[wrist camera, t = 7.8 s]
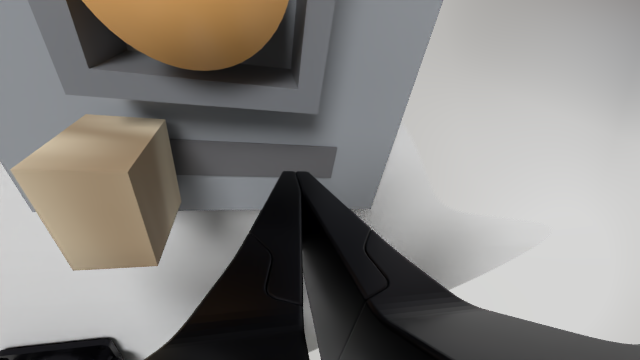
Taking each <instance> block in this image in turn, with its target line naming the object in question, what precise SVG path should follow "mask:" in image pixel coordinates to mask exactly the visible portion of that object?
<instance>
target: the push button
mask: <svg viewBox="0 0 640 360" xmlns="http://www.w3.org/2000/svg"><path fill="white" fill-rule="evenodd" d="M82 1H83V2H84V4H85V5H86V6H87V7H88V8H89V9H90V10H91V12H92V13H93V14H94V15H95V16H96V17H97V18H98V19H99V20H100V21H101V22H102V23H103V24H104V25H105V26H106V27H107V28H108V29H109V30H111V31H112V32H113V33H114V34H116V35H117V36H118V37H119V38H121V39H122V40H123V41H124V42H126V43H127V44H129V45H130V46H132V47H133V48H135V49H136V50H138V51H140V52H142V53H143V54H145V55H147V56H149V57H151V58H153V59H155V60H158V61H160V62H163V63H165V64H168V65H171V66H175V67H178V68H183V69H189V70H198V71H210V70H220V69H224V68H228V67H232V66H234V65H237V64H239V63H242V62H243V61H245V60H247V59H249V58H250V57H252V56H253V55H254V54H256V53H257V52H258V51H259V50H261V49H262V48H263V46H264V45H265V44H266V43H267V42H268V41H269V40H270V39H271V37H272V36H273V34H274V33H275V31H276V30H277V28H278V26H279V24H280V22H281V20H282V18H283V16H284V13H285V10H286V8H287V5H288V1H289V0H82Z"/></svg>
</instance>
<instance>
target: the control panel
mask: <svg viewBox="0 0 640 360" xmlns="http://www.w3.org/2000/svg"><path fill="white" fill-rule="evenodd" d="M442 2H443V0H289V1H288V5H287V8H286V10H285V13H284V16H283V18H282V20H281V22H280V24H279V26H278V28H277V30H276V31H275V33H274V34H273V36H272V37H271V39H270V40H269V41H268V42H267V43H266V44H265V45H264V46H263V48H262V49H261V50H259V51H258V52H257V53H256V54H254V55H253V56H252V57H250V58H249V59H247V60H245V61H243V62H242V63H239V64H237V65H234V66H232V67H228V68H224V69H220V70H210V71H198V70H189V69H183V68H178V67H175V66H171V65H168V64H165V63H163V62H160V61H158V60H155V59H153V58H151V57H149V56H147V55H145V54H143V53H142V52H140V51H138V50H136V49H135V48H133V47H132V46H130V45H129V44H127V43H126V42H124V41H123V40H122V39H121V38H119V37H118V36H117V35H116V34H114V33H113V32H112V31H111V30H109V29H108V28H107V27H106V26H105V25H104V24H103V23H102V22H101V21H100V20H99V19H98V18H97V17H96V16H95V15H94V14H93V13H92V12H91V10H90V9H89V8H88V7H87V6H86V5H85V4H84V2H83V1H82V0H0V162H1V163H2V165H3V166H4V168H5V170H6V171H7V173H8V174H9V176H10V177H11V179H12V181H13V182H14V184H15V185H16V187H17V188H18V190H19V192H20V193H21V195H22V196H23V198H24V199H25V201H26V203H27V204H28V206H29V207H30V209H31V210H32V212H36V211H35V209H34V207H33V206H32V204H31V203H30V201H29V199H28V198H27V196H26V195H25V193H24V191H23V190H22V188H21V187H20V185H19V183H18V182H17V180H16V179H15V177H14V175H13V174H12V172H11V171H10V169H11V168H13V167H14V166H16V165H17V164H18V163H20V162H21V161H22V160H24V159H25V158H27V157H28V156H29V155H31V154H32V153H33V152H35V151H36V150H37V149H39V148H40V147H42V146H43V145H44V144H46V143H47V142H48V141H50V140H51V139H53V138H54V137H55V136H57V135H58V134H59V133H61V132H62V131H64V130H65V129H66V128H68V127H69V126H70V125H72V124H73V123H74V122H76V121H77V120H79V119H80V118H81V117H83V116H84V115H85V114H91V115H106V116H122V117H137V118H153V119H165V120H166V125H167V130H168V135H169V141H170V146H171V151H172V156H173V161H174V166H175V171H176V176H177V181H178V187H179V192H180V197H181V204H180V207H179V209H178V211H184V210H262V208H263V206H264V204H265V202H266V201H267V199H268V197H269V195H270V193H271V191H272V190H273V188H274V186H275V184H276V182H277V181H278V179H279V177H280V175H281V173H282V172H283V171H295V173H296V172H297V171H307V172H309V173H310V174H311V175H313V176H314V177H315V178H316V179H317V180H318V181H319V182H320V183H321V184H322V185H324V186H325V187H326V188H327V189H328V190H329V191H330V192H331V193H332V194H333V195H335V196H336V197H337V198H338V199H339V200H340V201H341V202H342V203H343V204H344V205H346V206H347V207H348V208H349V209H371V206H372V203H373V200H374V197H375V195H376V192H377V189H378V186H379V183H380V180H381V177H382V174H383V172H384V169H385V166H386V163H387V160H388V157H389V154H390V151H391V149H392V146H393V143H394V140H395V137H396V134H397V131H398V129H399V126H400V123H401V120H402V117H403V114H404V111H405V108H406V105H407V103H408V100H409V97H410V94H411V91H412V88H413V86H414V82H415V80H416V77H417V74H418V71H419V68H420V65H421V63H422V60H423V57H424V54H425V51H426V48H427V45H428V43H429V40H430V37H431V34H432V31H433V28H434V25H435V22H436V20H437V17H438V14H439V11H440V8H441V5H442Z"/></svg>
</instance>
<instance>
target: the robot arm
mask: <svg viewBox="0 0 640 360" xmlns="http://www.w3.org/2000/svg"><path fill="white" fill-rule="evenodd" d="M303 274H304V279H305V284H306V289H307V294H308V298H309V303H310V308H311V313H312V318H313V323H314V328H315V332H316V337H317V342H318V347H319V352H320V356H321V360H640V344H638V345H632V344H622V343H616V342H611V341H605V340H601V339H596V338H592V337H588V336H584V335H580V334H576V333H573V332H568V331H565V330H561V329H557V328H553V327H550V326H546V325H542V324H538V323H534V322H531V321H527V320H523V319H519V318H515V317H512V316H508V315H504V314H500V313H496V312H493V311H489V310H485V309H482V308H479V307H476V306H474V305H472V304H470V303H467V302H465V301H464V300H462V299H460V298H458V297H457V296H455V295H454V294H453V293H451V292H450V291H448V290H447V289H446V288H444V287H443V286H442V285H440V284H439V283H438V282H437V281H435V280H434V279H433V278H431V277H430V276H429V275H427V274H426V273H425V272H423V271H422V270H421V269H419V268H418V267H417V266H415V265H414V264H413V263H411V262H410V261H409V260H408V259H406V258H405V257H404V256H403V255H401V254H400V253H399V252H397V251H396V250H395V249H394V248H393V247H391V246H390V245H389V244H388V243H387V242H386V241H384V240H383V239H382V238H381V237H380V236H379V235H378V234H377V233H375V232H374V231H373V230H371V228H370V227H369V226H368V225H367V224H365V223H364V222H363V221H362V220H361V219H360V218H359V217H358V216H357V215H355V214H354V213H353V212H352V211H351V210H350V209H349V208H348V207H347V206H346V205H344V204H343V203H342V202H341V201H340V200H339V199H338V198H337V197H336V196H335V195H333V194H332V193H331V192H330V191H329V190H328V189H327V188H326V187H325V186H324V185H322V184H321V183H320V182H319V181H318V180H317V179H316V178H315V177H314V176H313V175H311V174H310V173H309V172H307V171H297V172H296V173H295V171H283V172H282V173H281V175H280V177H279V179H278V181H277V182H276V184H275V186H274V188H273V190H272V191H271V193H270V195H269V197H268V199H267V201H266V202H265V204H264V206H263V208H262V210H261V211H260V213H259V215H258V217H257V219H256V221H255V222H254V224H253V226H252V228H251V230H250V231H249V234H248V235H247V237H246V238H245V240H244V242H243V244H242V246H241V247H240V249H239V250H238V252H237V254H236V255H235V257H234V259H233V260H232V261H231V263H230V264H229V266H228V267H227V268H226V270H225V271H224V273H223V274H222V275H221V277H220V278H219V279H218V281H217V282H216V283H215V285H214V286H213V287H212V289H211V290H210V291H209V292H208V294H207V295H206V296H205V298H204V299H203V300H202V302H201V303H200V304H199V306H198V307H197V308H196V310H195V311H194V312H193V314H192V315H191V316H190V317H189V319H188V320H187V321H186V322H185V324H184V325H183V326H182V327H181V328H180V330H179V331H178V332H177V333H176V334H175V335H174V336H173V337H172V338H171V339H170V340H169V341H168V342H167V343H166V344H164V345H163V346H162V347H161V348H160V349H158V350H157V351H156V352H154V353H153V354H151V355H150V356H149V357H147V358H146V359H144V360H309V355H308V349H307V344H306V339H305V333H304V319H303ZM0 360H124V359H123V357H122V356H121V354H120V353H119V351H118V349H117V348H116V346H115V345H114V343H113V342H112V341H111V340H109V339H98V340H88V341H79V342H70V343H61V344H51V345H42V346H33V347H24V348H14V349H5V350H1V351H0Z"/></svg>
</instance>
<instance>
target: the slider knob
mask: <svg viewBox="0 0 640 360" xmlns="http://www.w3.org/2000/svg"><path fill="white" fill-rule="evenodd" d="M10 171H11V172H12V174H13V175H14V177H15V179H16V180H17V182H18V183H19V185H20V187H21V188H22V190H23V191H24V193H25V195H26V196H27V198H28V199H29V201H30V203H31V204H32V206H33V207H34V209H35V211H36V212H37V214H38V215H39V217H40V218H41V220H42V222H43V223H44V225H45V226H46V228H47V230H48V231H49V233H50V234H51V236H52V238H53V239H54V241H55V242H56V244H57V246H58V247H59V249H60V250H61V252H62V254H63V255H64V257H65V258H66V260H67V262H68V263H69V265H70V266H71V268H72V270H92V269H110V268H129V267H147V266H158V264H159V261H160V258H161V256H162V253H163V250H164V247H165V245H166V242H167V239H168V237H169V234H170V231H171V228H172V226H173V223H174V220H175V217H176V215H177V212H178V209H179V207H180V204H181V197H180V192H179V187H178V181H177V176H176V171H175V166H174V161H173V156H172V151H171V146H170V141H169V135H168V130H167V125H166V120H165V119H153V118H137V117H122V116H106V115H91V114H85V115H84V116H83V117H81V118H80V119H79V120H77V121H76V122H74V123H73V124H72V125H70V126H69V127H68V128H66V129H65V130H64V131H62V132H61V133H59V134H58V135H57V136H55V137H54V138H53V139H51V140H50V141H48V142H47V143H46V144H44V145H43V146H42V147H40V148H39V149H37V150H36V151H35V152H33V153H32V154H31V155H29V156H28V157H27V158H25V159H24V160H22V161H21V162H20V163H18V164H17V165H16V166H14V167H13V168H11V169H10Z"/></svg>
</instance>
